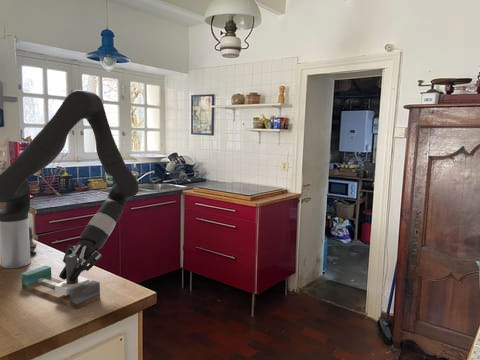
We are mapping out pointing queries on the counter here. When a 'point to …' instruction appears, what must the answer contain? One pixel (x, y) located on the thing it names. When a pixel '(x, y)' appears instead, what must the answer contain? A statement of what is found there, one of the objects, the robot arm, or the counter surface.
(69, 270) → the carriage
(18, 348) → the counter surface
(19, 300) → the counter surface
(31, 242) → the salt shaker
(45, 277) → the rail
